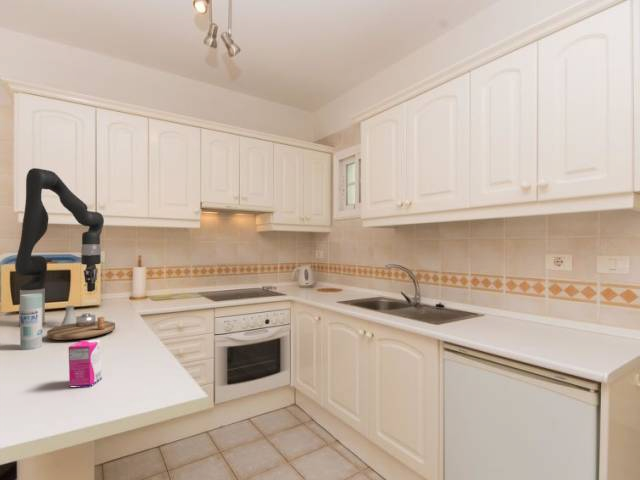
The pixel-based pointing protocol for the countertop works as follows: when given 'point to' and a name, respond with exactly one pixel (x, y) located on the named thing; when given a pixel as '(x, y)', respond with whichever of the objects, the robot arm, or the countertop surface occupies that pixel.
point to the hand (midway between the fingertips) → (91, 290)
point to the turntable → (81, 330)
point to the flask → (69, 316)
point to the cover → (85, 320)
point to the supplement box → (85, 363)
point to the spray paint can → (30, 321)
